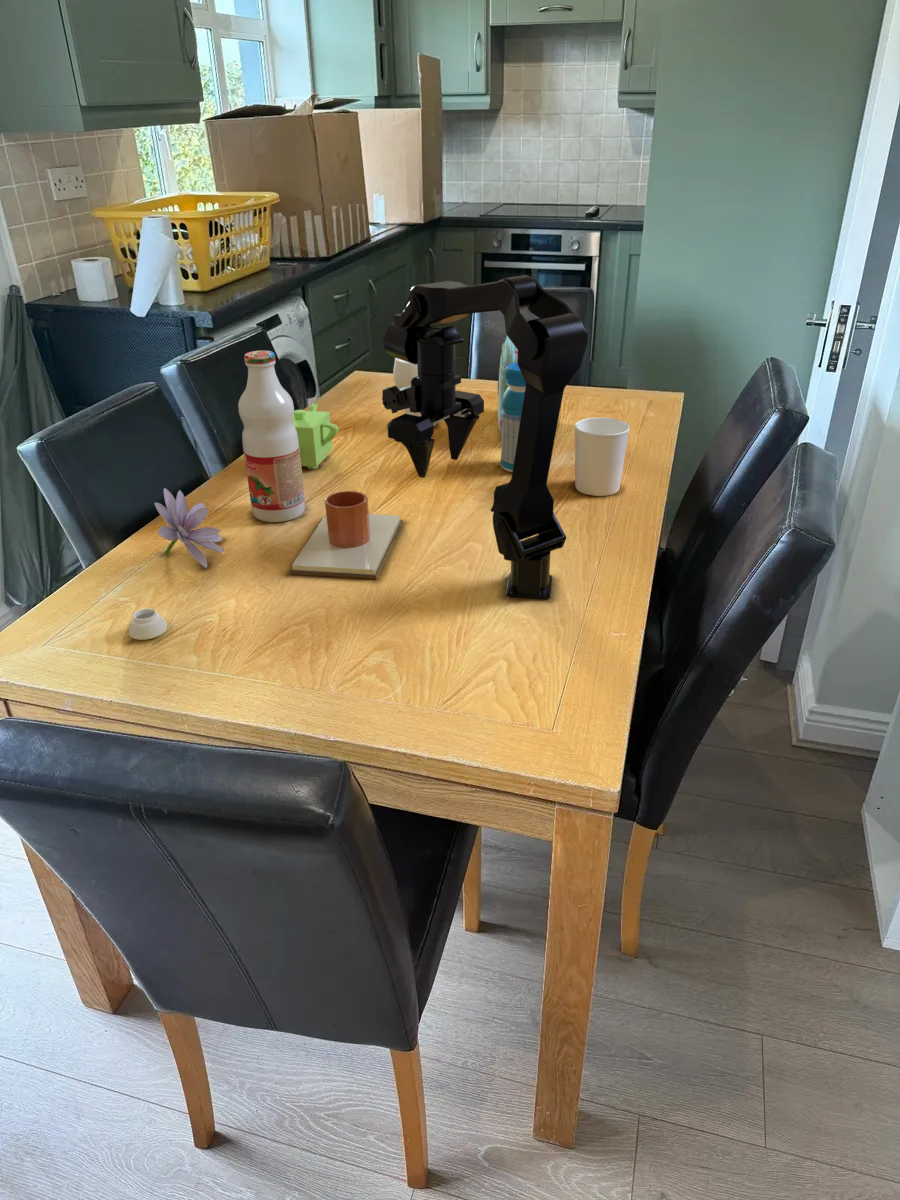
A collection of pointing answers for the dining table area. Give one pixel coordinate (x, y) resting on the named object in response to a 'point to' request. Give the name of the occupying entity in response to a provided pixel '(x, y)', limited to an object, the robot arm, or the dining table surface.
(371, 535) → the tile
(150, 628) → the lidless jar
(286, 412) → the fruit juice
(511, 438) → the beverage bottle
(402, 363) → the cup
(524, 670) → the dining table surface
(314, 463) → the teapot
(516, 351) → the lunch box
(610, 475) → the white tumbler
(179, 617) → the dining table surface
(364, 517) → the pot
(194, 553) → the water lily
